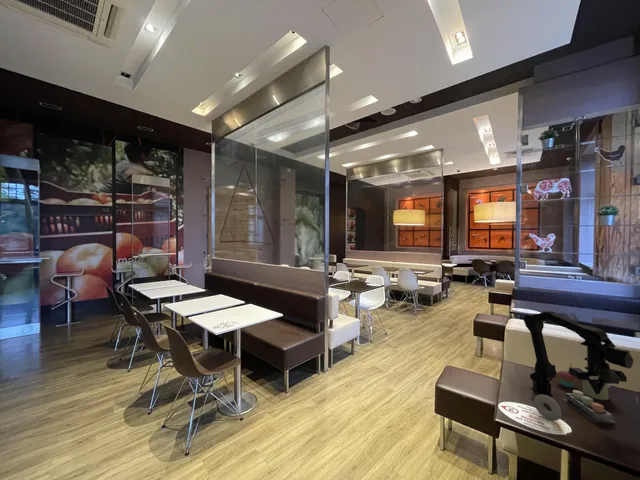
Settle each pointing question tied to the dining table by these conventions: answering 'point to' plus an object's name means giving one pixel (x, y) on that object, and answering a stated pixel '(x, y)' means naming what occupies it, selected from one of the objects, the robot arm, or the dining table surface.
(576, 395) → the white egg
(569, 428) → the dining table surface
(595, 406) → the brown egg
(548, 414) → the donut
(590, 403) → the green rounded piece
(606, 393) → the can
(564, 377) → the cupcake
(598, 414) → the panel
